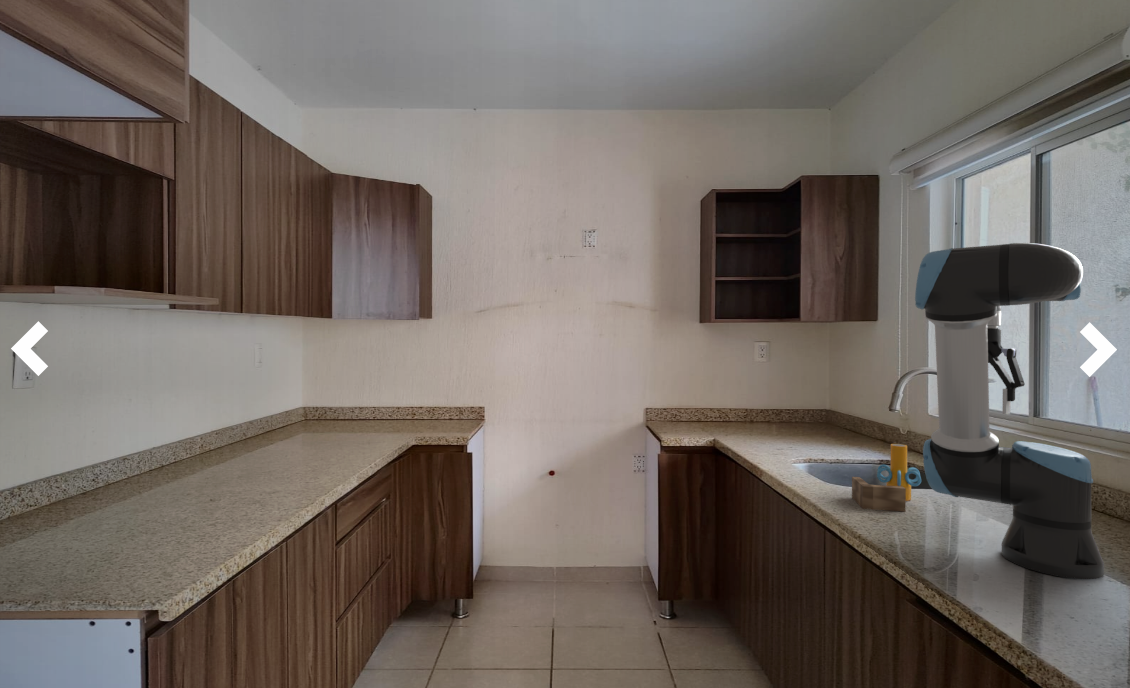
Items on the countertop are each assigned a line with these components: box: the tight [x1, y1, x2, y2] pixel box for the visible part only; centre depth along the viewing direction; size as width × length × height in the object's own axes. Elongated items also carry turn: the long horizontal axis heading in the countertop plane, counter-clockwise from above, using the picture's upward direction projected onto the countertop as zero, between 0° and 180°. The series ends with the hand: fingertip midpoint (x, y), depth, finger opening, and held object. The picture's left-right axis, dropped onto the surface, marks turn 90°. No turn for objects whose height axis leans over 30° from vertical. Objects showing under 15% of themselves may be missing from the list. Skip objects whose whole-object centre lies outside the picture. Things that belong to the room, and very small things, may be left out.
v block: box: [851, 476, 907, 513], centre depth 143 cm, size 9×14×6 cm, turn 32°
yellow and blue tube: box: [876, 443, 922, 502], centre depth 150 cm, size 12×10×15 cm
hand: (982, 411), depth 142 cm, fingers open, 10 cm apart
